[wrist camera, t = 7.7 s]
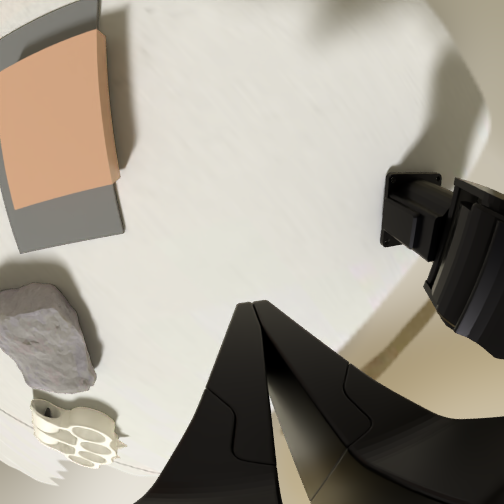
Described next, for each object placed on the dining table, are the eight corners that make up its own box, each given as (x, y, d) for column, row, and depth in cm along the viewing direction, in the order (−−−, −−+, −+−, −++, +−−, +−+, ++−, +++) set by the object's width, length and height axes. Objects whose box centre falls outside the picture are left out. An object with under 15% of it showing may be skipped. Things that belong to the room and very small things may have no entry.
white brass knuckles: (33, 380, 25) (138, 420, 30) (37, 431, 30) (114, 459, 36) (26, 400, 22) (137, 441, 27) (33, 447, 27) (114, 475, 33)
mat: (98, -5, 11) (97, -6, 11) (124, 231, 19) (123, 233, 19) (-9, 46, 10) (-11, 46, 9) (21, 252, 18) (20, 253, 18)
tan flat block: (96, 28, 11) (-4, 73, 10) (112, 184, 15) (14, 210, 14) (106, 37, 13) (12, 75, 12) (121, 176, 17) (29, 200, 16)
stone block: (67, 265, 21) (-12, 289, 18) (57, 296, 17) (-28, 319, 14) (111, 358, 27) (40, 372, 24) (113, 391, 23) (36, 404, 20)
